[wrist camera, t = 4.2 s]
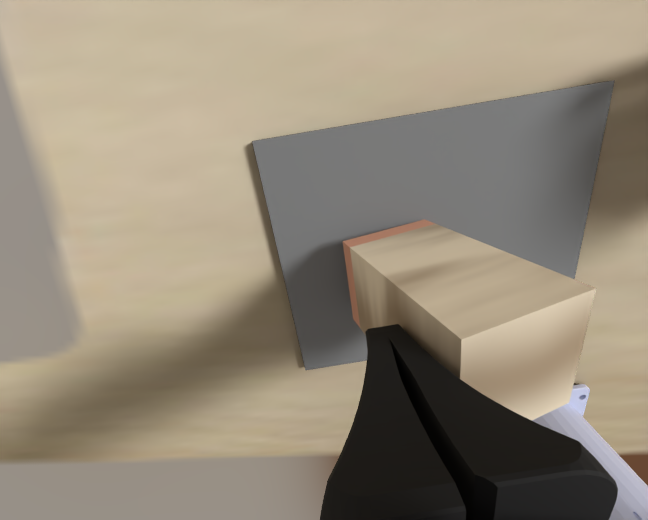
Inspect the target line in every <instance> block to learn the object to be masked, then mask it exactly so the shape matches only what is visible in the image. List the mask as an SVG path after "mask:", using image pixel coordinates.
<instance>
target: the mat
mask: <svg viewBox="0 0 648 520" xmlns="http://www.w3.org/2000/svg"><path fill="white" fill-rule="evenodd" d="M614 81H615V80H614ZM614 81H607V82H600V83H594V84H589V85H583V86H577V87H571V88H565V89H559V90H553V91H547V92H541V93H535V94H529V95H523V96H517V97H511V98H505V99H499V100H494V101H488V102H482V103H476V104H470V105H464V106H458V107H452V108H446V109H440V110H434V111H428V112H422V113H416V114H410V115H404V116H399V117H393V118H387V119H381V120H375V121H369V122H363V123H357V124H351V125H345V126H339V127H333V128H327V129H321V130H315V131H309V132H304V133H298V134H292V135H286V136H280V137H274V138H268V139H262V140H256V141H252V143H253V147H254V151H255V156H256V160H257V164H258V169H259V173H260V177H261V181H262V186H263V190H264V194H265V199H266V203H267V207H268V211H269V216H270V220H271V224H272V229H273V233H274V237H275V241H276V246H277V250H278V254H279V259H280V263H281V267H282V271H283V276H284V280H285V284H286V289H287V293H288V297H289V301H290V306H291V310H292V314H293V319H294V323H295V327H296V331H297V336H298V340H299V344H300V349H301V353H302V357H303V361H304V366H305V370H310V369H317V368H323V367H329V366H335V365H341V364H348V363H354V362H360V361H366V360H367V354H368V349H367V341H366V335H365V334H364V333H363V331H362V330H361V329H360V327H359V326H358V325H357V323H356V322H355V321H354V319H353V313H352V306H351V299H350V292H349V284H348V277H347V270H346V263H345V255H344V248H343V241H346V240H350V239H353V238H357V237H361V236H364V235H368V234H372V233H376V232H379V231H383V230H387V229H390V228H394V227H398V226H402V225H405V224H409V223H413V222H416V221H420V220H424V219H425V220H427V221H430V222H432V223H435V224H437V225H440V226H442V227H445V228H447V229H450V230H452V231H455V232H457V233H460V234H462V235H465V236H467V237H470V238H472V239H475V240H477V241H480V242H482V243H485V244H487V245H490V246H492V247H495V248H497V249H500V250H502V251H505V252H507V253H510V254H512V255H515V256H517V257H520V258H522V259H525V260H527V261H530V262H532V263H535V264H537V265H540V266H542V267H545V268H547V269H550V270H552V271H555V272H557V273H560V274H562V275H565V276H567V277H570V278H572V279H574V278H575V274H576V269H577V264H578V259H579V254H580V249H581V244H582V239H583V234H584V229H585V224H586V219H587V214H588V209H589V205H590V200H591V195H592V190H593V185H594V180H595V175H596V170H597V165H598V160H599V155H600V150H601V145H602V140H603V135H604V131H605V126H606V121H607V116H608V111H609V106H610V101H611V96H612V91H613V86H614Z"/></svg>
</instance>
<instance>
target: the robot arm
mask: <svg viewBox="0 0 648 520" xmlns="http://www.w3.org/2000/svg"><path fill="white" fill-rule="evenodd" d="M365 333H366V341H367V349H368V354H367V366H366V373H365V379H364V385H363V390H362V394H361V398H360V402H359V406H358V409H357V412H356V415H355V419H354V422H353V425H352V427H351V430H350V433H349V435H348V438H347V440H346V443H345V445H344V447H343V450H342V452H341V454H340V457H339V459H338V461H337V463H336V465H335V467H334V469H333V471H332V473H331V475H330V477H329V479H328V481H327V486H326V491H325V495H324V500H323V504H322V510H321V516H320V520H648V486H647V485H646V484H645V483H644V482H643V481H642V479H640V477H639V476H638V475H637V474H636V473H635V472H634V471H633V470H632V469H631V468H630V467H629V466H628V465H627V464H626V462H625V461H624V460H623V459H622V458H621V457H620V456H619V455H618V454H617V453H616V452H615V451H614V450H613V449H612V447H611V446H610V445H609V444H608V443H607V442H606V441H605V440H604V439H603V438H602V437H601V436H600V435H599V434H598V433H597V432H596V430H595V429H594V428H593V427H592V426H591V425H590V424H589V423H588V422H587V421H586V420H585V419H584V418H583V414H584V411H585V407H586V403H587V399H588V396H589V392H590V389H589V388H588V387H587V386H586V385H584V384H579V385H573V389H572V393H571V397H570V401H569V403H567V404H565V405H563V406H561V407H559V408H557V409H555V410H553V411H551V412H549V413H547V414H544V415H542V416H540V417H538V418H536V419H534V420H532V421H531V420H529V419H527V418H525V417H523V416H521V415H519V414H517V413H515V412H513V411H512V410H510V409H508V408H506V407H504V406H502V405H501V404H499V403H497V402H495V401H494V400H492V399H490V398H488V397H487V396H485V395H483V394H482V393H480V392H479V391H477V390H475V389H474V388H472V387H471V386H469V385H468V384H467V383H465V382H464V381H462V380H461V379H459V378H458V377H457V376H455V375H454V374H453V373H451V372H450V371H449V370H448V369H446V368H445V367H444V366H443V365H441V364H440V363H439V362H438V361H437V360H435V359H434V358H433V357H432V356H431V355H430V354H429V353H428V352H426V351H425V350H424V349H423V348H422V347H421V346H420V345H419V344H418V343H417V342H416V341H415V340H414V339H413V338H412V337H411V336H410V335H409V334H408V333H407V332H406V331H405V330H404V329H403V328H402V327H401V326H400V325H399V324H395V325H389V326H383V327H376V328H370V329H367V330H366V332H365Z"/></svg>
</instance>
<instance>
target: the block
mask: <svg viewBox="0 0 648 520" xmlns="http://www.w3.org/2000/svg"><path fill="white" fill-rule="evenodd" d="M343 248H344V255H345V263H346V270H347V277H348V284H349V292H350V299H351V306H352V313H353V319H354V321H355V322H356V323H357V325H358V326H359V327H360V329H361V330H362V331H363V333H364V334H365V335H366V333H365V332H366V330H367V329H370V328H376V327H383V326H389V325H395V324H399V325H400V326H401V327H402V328H403V329H404V330H405V331H406V332H407V333H408V334H409V335H410V336H411V337H412V338H413V339H414V340H415V341H416V342H417V343H418V344H419V345H420V346H421V347H422V348H423V349H424V350H425V351H426V352H428V353H429V354H430V355H431V356H432V357H433V358H434V359H435V360H437V361H438V362H439V363H440V364H441V365H443V366H444V367H445V368H446V369H448V370H449V371H450V372H451V373H453V374H454V375H455V376H457V377H458V378H459V379H461V380H462V381H464V382H465V383H467V384H468V385H469V386H471V387H472V388H474V389H475V390H477V391H479V392H480V393H482V394H483V395H485V396H487V397H488V398H490V399H492V400H494V401H495V402H497V403H499V404H501V405H502V406H504V407H506V408H508V409H510V410H512V411H513V412H515V413H517V414H519V415H521V416H523V417H525V418H527V419H529V420H531V421H532V420H534V419H536V418H538V417H540V416H542V415H544V414H547V413H549V412H551V411H553V410H555V409H557V408H559V407H561V406H563V405H565V404H567V403H569V401H570V397H571V393H572V389H573V385H574V381H575V376H576V372H577V368H578V364H579V360H580V355H581V351H582V347H583V343H584V339H585V335H586V330H587V326H588V322H589V318H590V314H591V310H592V305H593V301H594V297H595V293H596V289H597V288H595V287H592V286H590V285H587V284H585V283H582V282H580V281H577V280H575V279H572V278H570V277H567V276H565V275H562V274H560V273H557V272H555V271H552V270H550V269H547V268H545V267H542V266H540V265H537V264H535V263H532V262H530V261H527V260H525V259H522V258H520V257H517V256H515V255H512V254H510V253H507V252H505V251H502V250H500V249H497V248H495V247H492V246H490V245H487V244H485V243H482V242H480V241H477V240H475V239H472V238H470V237H467V236H465V235H462V234H460V233H457V232H455V231H452V230H450V229H447V228H445V227H442V226H440V225H437V224H435V223H432V222H430V221H427V220H425V219H424V220H420V221H416V222H413V223H409V224H405V225H402V226H398V227H394V228H390V229H387V230H383V231H379V232H376V233H372V234H368V235H364V236H361V237H357V238H353V239H350V240H346V241H343Z"/></svg>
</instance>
